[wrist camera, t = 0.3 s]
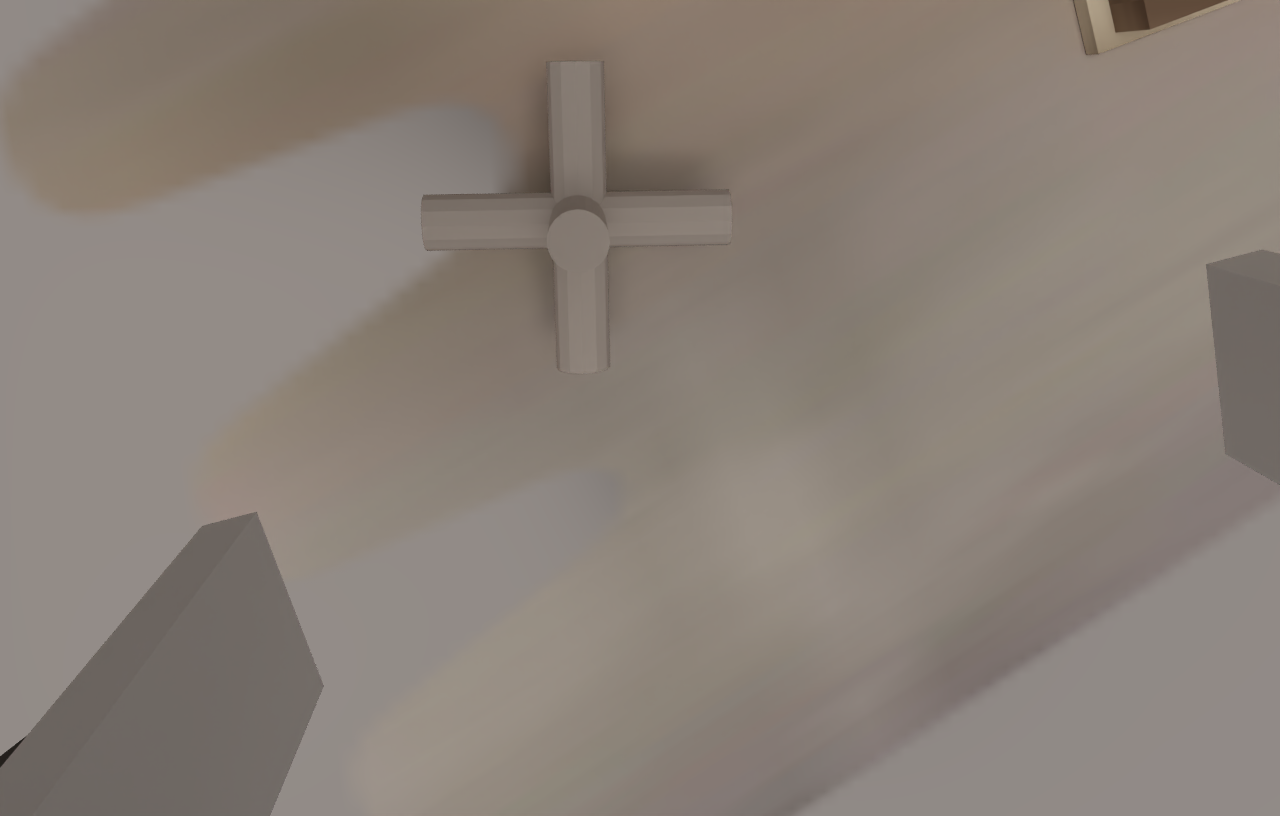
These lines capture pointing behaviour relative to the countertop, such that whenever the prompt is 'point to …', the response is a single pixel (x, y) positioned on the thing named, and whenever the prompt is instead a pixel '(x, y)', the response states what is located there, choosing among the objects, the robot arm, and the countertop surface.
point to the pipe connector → (577, 217)
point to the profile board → (1134, 19)
